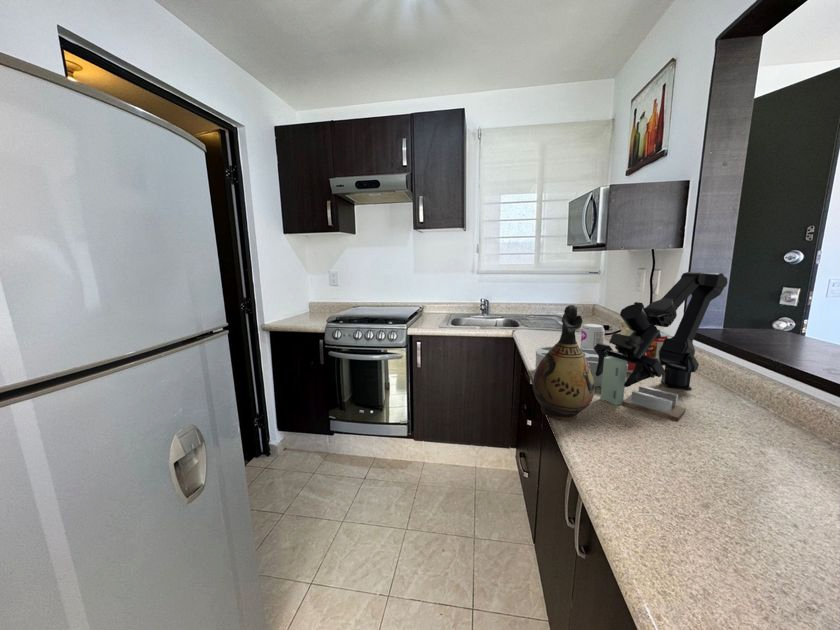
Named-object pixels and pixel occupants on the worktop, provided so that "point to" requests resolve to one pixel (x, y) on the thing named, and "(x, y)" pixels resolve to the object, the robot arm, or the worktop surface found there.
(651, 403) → the slotted panel holder
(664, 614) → the worktop surface
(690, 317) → the robot arm
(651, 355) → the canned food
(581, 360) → the ceramic jug
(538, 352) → the gray compartment organizer
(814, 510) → the worktop surface
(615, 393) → the door panel
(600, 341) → the supplement can
